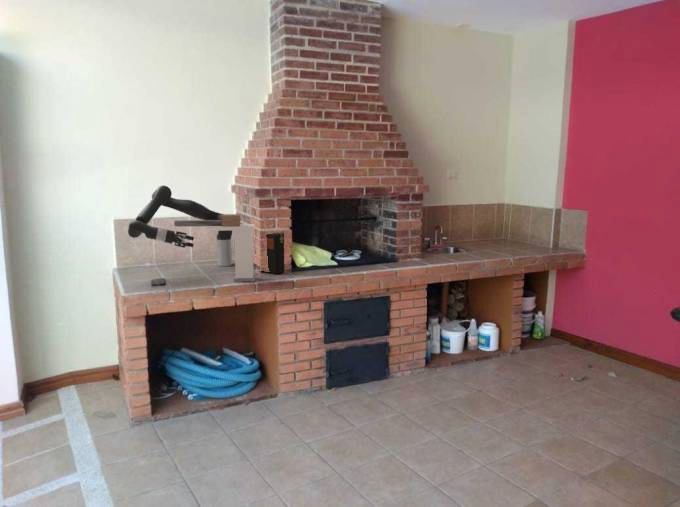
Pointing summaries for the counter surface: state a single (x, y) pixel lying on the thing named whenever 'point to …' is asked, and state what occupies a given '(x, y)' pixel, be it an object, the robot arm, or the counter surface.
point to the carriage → (212, 221)
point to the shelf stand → (242, 251)
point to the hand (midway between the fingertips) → (193, 242)
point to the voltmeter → (275, 252)
